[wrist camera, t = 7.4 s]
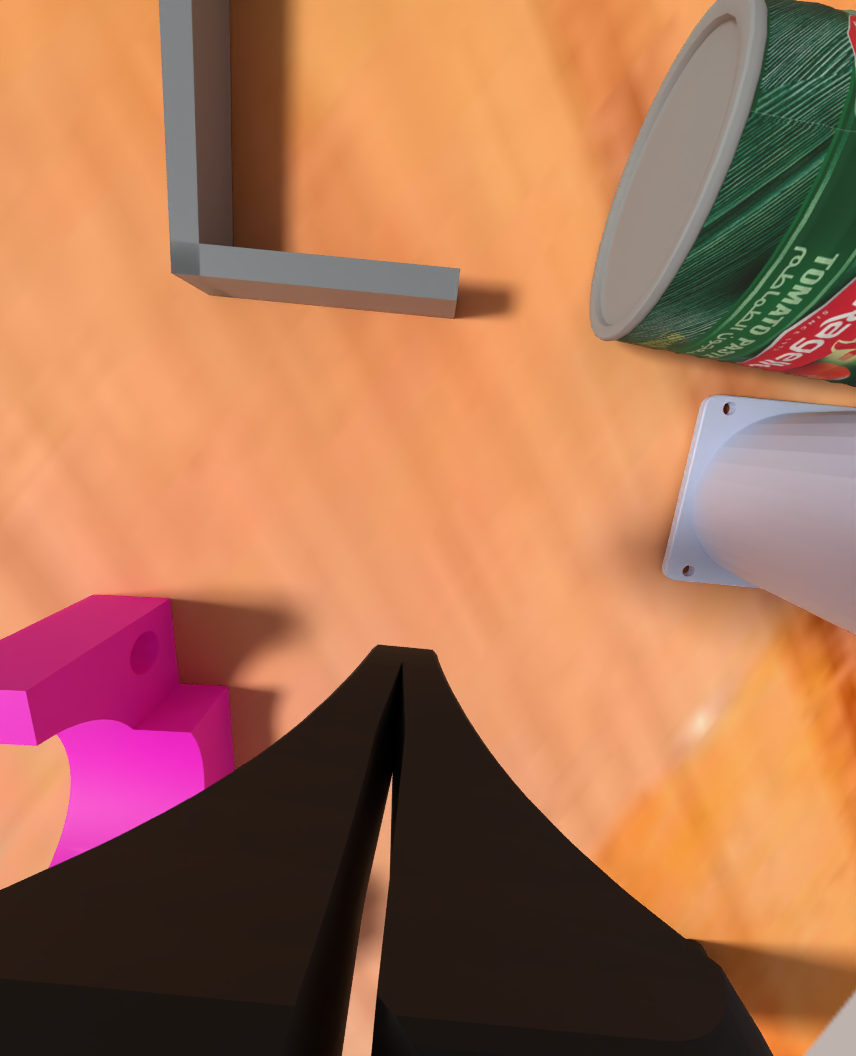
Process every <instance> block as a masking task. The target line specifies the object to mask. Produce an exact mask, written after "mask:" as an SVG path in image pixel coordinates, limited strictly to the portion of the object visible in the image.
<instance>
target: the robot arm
mask: <svg viewBox="0 0 856 1056" xmlns="http://www.w3.org/2000/svg"><path fill="white" fill-rule="evenodd" d="M726 403H728V405H729V406H730V410H729V412H728V413H727V414H724V412H723V407H724V405H725V404H726ZM686 566H689V570H688V572H686V573H684V574H683V569H684V567H686ZM662 572H663V574H664V575H665V576H666V577H668V578H669V579H672V580H678V581H688V582H698V583H709V584H719V585H730V586H740V587H751V588H761V589H763V590H765V591H767V592H769V593H772V594H774V595H776V596H778V597H780V598H782V599H784V600H786V601H788V602H790V603H792V604H794V605H796V606H798V607H800V608H802V609H804V610H806V611H808V612H810V613H812V614H814V615H816V616H818V617H820V618H822V619H824V620H826V621H828V622H830V623H832V624H834V625H836V626H838V627H840V628H842V629H844V630H846V631H848V632H850V633H852V634H854V635H856V408H853V407H842V406H832V405H822V404H811V403H801V402H791V401H780V400H770V399H759V398H749V397H739V396H728V395H712V396H709V397H707V398H705V399H704V400H703V401H702V403H701V405H700V408H699V413H698V417H697V421H696V425H695V430H694V434H693V438H692V442H691V446H690V451H689V455H688V459H687V463H686V468H685V472H684V476H683V480H682V485H681V489H680V493H679V497H678V501H677V506H676V510H675V514H674V518H673V523H672V527H671V531H670V535H669V539H668V544H667V548H666V552H665V556H664V561H663V565H662ZM392 773H393V777H392ZM391 777H392V813H391V850H390V881H389V890H388V899H387V908H386V917H385V926H384V935H383V944H382V953H381V962H380V971H379V980H378V989H377V999H376V1010H375V1021H374V1032H373V1043H372V1053H371V1056H773V1054H772V1052H771V1050H770V1049H769V1047H768V1045H767V1043H766V1041H765V1039H764V1038H763V1036H762V1034H761V1032H760V1030H759V1029H758V1027H757V1026H756V1024H755V1022H754V1021H753V1019H752V1017H751V1016H750V1014H749V1013H748V1011H747V1009H746V1008H745V1006H744V1005H743V1003H742V1001H741V1000H740V998H739V996H738V995H737V993H736V992H735V990H734V988H733V986H732V985H731V983H730V981H729V980H728V978H727V976H726V974H725V973H724V971H723V969H722V968H721V967H720V966H719V965H718V964H716V963H715V962H714V961H713V960H711V959H710V958H709V957H708V956H706V955H705V954H704V953H703V952H701V951H700V950H699V949H697V948H696V947H695V946H694V945H692V944H691V943H690V942H689V941H687V940H686V939H685V938H684V937H682V936H681V935H680V934H679V933H677V932H676V931H675V930H674V929H672V928H671V927H670V926H668V925H667V924H666V923H665V922H663V921H662V920H661V919H660V918H658V917H657V916H656V915H655V914H653V913H652V912H651V911H650V910H648V909H647V908H646V907H645V906H643V905H642V904H641V903H639V902H638V901H637V900H636V899H634V898H633V897H632V896H631V895H629V894H628V893H627V892H626V891H625V890H624V889H622V888H621V887H620V886H619V885H618V884H617V883H616V882H614V881H613V880H612V879H611V878H610V877H609V876H608V875H607V874H605V873H604V872H603V871H602V870H601V869H600V868H599V867H598V866H597V865H595V864H594V863H593V862H592V861H591V860H590V859H589V858H588V857H586V856H585V855H584V854H583V853H582V852H581V851H580V850H579V849H578V848H577V847H576V846H575V845H574V844H572V843H571V842H570V841H569V840H568V839H567V838H566V837H565V836H564V835H563V834H562V833H561V832H560V831H559V830H558V829H557V828H556V827H555V826H554V825H553V824H552V823H551V822H550V821H549V820H548V818H547V817H546V816H545V815H544V814H543V813H542V812H541V811H540V810H539V809H538V808H537V807H536V806H535V805H534V804H533V803H532V802H531V801H530V800H529V799H528V798H527V797H526V796H525V794H524V793H523V792H522V791H521V790H520V789H519V787H518V786H517V785H516V784H515V783H514V782H513V780H512V779H511V778H510V777H509V775H508V774H507V773H506V772H505V770H504V769H503V768H502V767H501V765H500V764H499V763H498V762H497V760H496V759H495V758H494V756H493V755H492V754H491V752H490V751H489V749H488V748H487V747H486V745H485V744H484V742H483V741H482V739H481V738H480V736H479V735H478V733H477V732H476V730H475V729H474V727H473V726H472V724H471V723H470V721H469V720H468V718H467V716H466V715H465V713H464V711H463V710H462V708H461V706H460V704H459V702H458V701H457V699H456V697H455V695H454V694H453V692H452V690H451V688H450V686H449V684H448V682H447V680H446V677H445V675H444V673H443V671H442V668H441V666H440V663H439V661H438V657H437V655H436V653H435V652H434V651H433V650H429V649H418V648H408V647H397V646H387V645H377V646H376V647H374V648H373V649H372V650H371V651H370V653H369V654H368V655H367V657H366V658H365V659H364V660H363V661H362V663H361V664H360V665H359V666H358V667H357V668H356V669H355V670H354V672H353V673H352V674H351V675H350V676H349V677H348V678H347V679H346V680H345V681H344V682H343V683H342V684H341V685H340V686H339V687H338V688H337V689H336V690H335V691H334V692H333V693H332V694H331V695H330V696H329V697H328V698H327V699H326V700H325V701H324V702H323V703H322V704H321V705H320V706H318V707H317V708H316V709H315V710H314V711H313V712H312V713H311V714H309V715H308V716H307V717H306V718H305V719H304V720H303V721H302V722H300V723H299V724H298V725H297V726H296V727H294V728H293V729H292V730H291V731H290V732H288V733H287V734H286V735H284V736H283V737H282V738H281V739H279V740H278V741H277V742H275V743H274V744H273V745H271V746H270V747H269V748H267V749H266V750H265V751H263V752H262V753H260V754H259V755H258V756H256V757H255V758H253V759H252V760H250V761H249V762H247V763H246V764H244V765H242V766H241V767H239V768H238V769H236V770H235V771H233V772H231V773H230V774H228V775H227V776H225V777H223V778H222V779H220V780H219V781H217V782H216V783H214V784H212V785H211V786H209V787H208V788H206V789H204V790H203V791H201V792H199V793H198V794H196V795H194V796H192V797H191V798H189V799H187V800H185V801H183V802H182V803H180V804H178V805H176V806H174V807H173V808H171V809H169V810H167V811H165V812H164V813H162V814H160V815H158V816H156V817H154V818H152V819H150V820H148V821H146V822H144V823H142V824H141V825H139V826H137V827H135V828H133V829H131V830H129V831H127V832H125V833H123V834H121V835H119V836H117V837H115V838H113V839H111V840H109V841H107V842H105V843H103V844H101V845H99V846H96V847H94V848H92V849H90V850H88V851H85V852H83V853H81V854H79V855H77V856H75V857H72V858H70V859H68V860H66V861H64V862H61V863H59V864H57V865H55V866H53V867H50V868H48V869H46V870H44V871H42V872H39V873H37V874H35V875H33V876H31V877H28V878H26V879H24V880H22V881H20V882H17V883H15V884H13V885H11V886H9V887H6V888H4V889H2V890H0V1056H342V1050H343V1043H344V1036H345V1029H346V1022H347V1015H348V1008H349V1001H350V994H351V987H352V980H353V973H354V966H355V959H356V952H357V945H358V938H359V931H360V924H361V918H362V913H363V907H364V902H365V897H366V891H367V886H368V882H369V877H370V873H371V868H372V864H373V859H374V855H375V850H376V846H377V841H378V837H379V832H380V828H381V823H382V819H383V814H384V810H385V805H386V800H387V796H388V791H389V787H390V782H391Z"/></svg>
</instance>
